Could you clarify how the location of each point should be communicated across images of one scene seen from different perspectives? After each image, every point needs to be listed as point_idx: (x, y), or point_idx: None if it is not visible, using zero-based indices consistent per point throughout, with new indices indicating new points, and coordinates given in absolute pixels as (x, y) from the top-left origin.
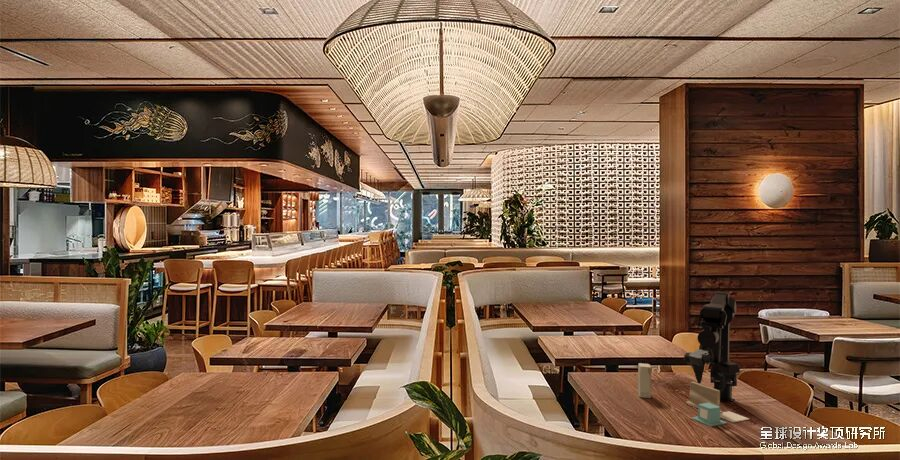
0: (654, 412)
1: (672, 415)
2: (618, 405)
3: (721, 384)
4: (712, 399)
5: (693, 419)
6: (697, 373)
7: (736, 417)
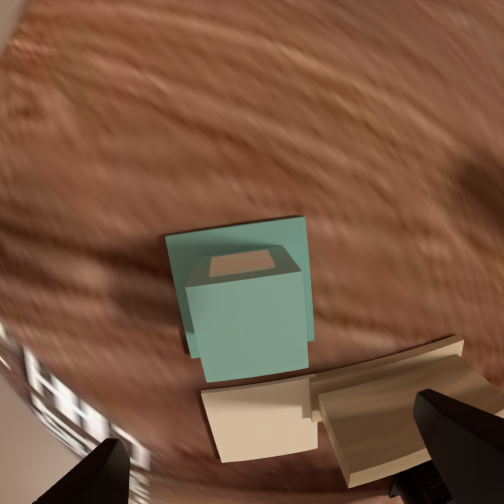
0: (423, 88)
1: (371, 144)
2: (495, 26)
3: (59, 484)
4: (360, 425)
5: (287, 218)
6: (491, 453)
7: (244, 434)
